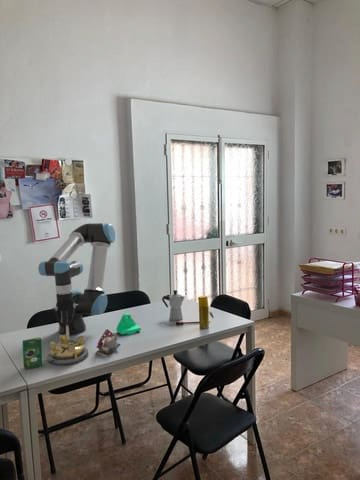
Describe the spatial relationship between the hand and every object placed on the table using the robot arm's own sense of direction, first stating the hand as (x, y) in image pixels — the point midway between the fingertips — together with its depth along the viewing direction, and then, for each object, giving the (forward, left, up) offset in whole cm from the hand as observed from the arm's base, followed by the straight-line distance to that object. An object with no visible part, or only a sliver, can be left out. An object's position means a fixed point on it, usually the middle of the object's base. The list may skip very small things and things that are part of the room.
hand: (67, 338), depth 195 cm
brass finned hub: (+5, -5, -5) cm, 8 cm away
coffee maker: (+19, +69, -7) cm, 72 cm away
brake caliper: (+17, +10, -7) cm, 21 cm away
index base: (+5, -5, -7) cm, 10 cm away
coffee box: (-1, -20, -7) cm, 22 cm away
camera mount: (+9, +36, -7) cm, 38 cm away
